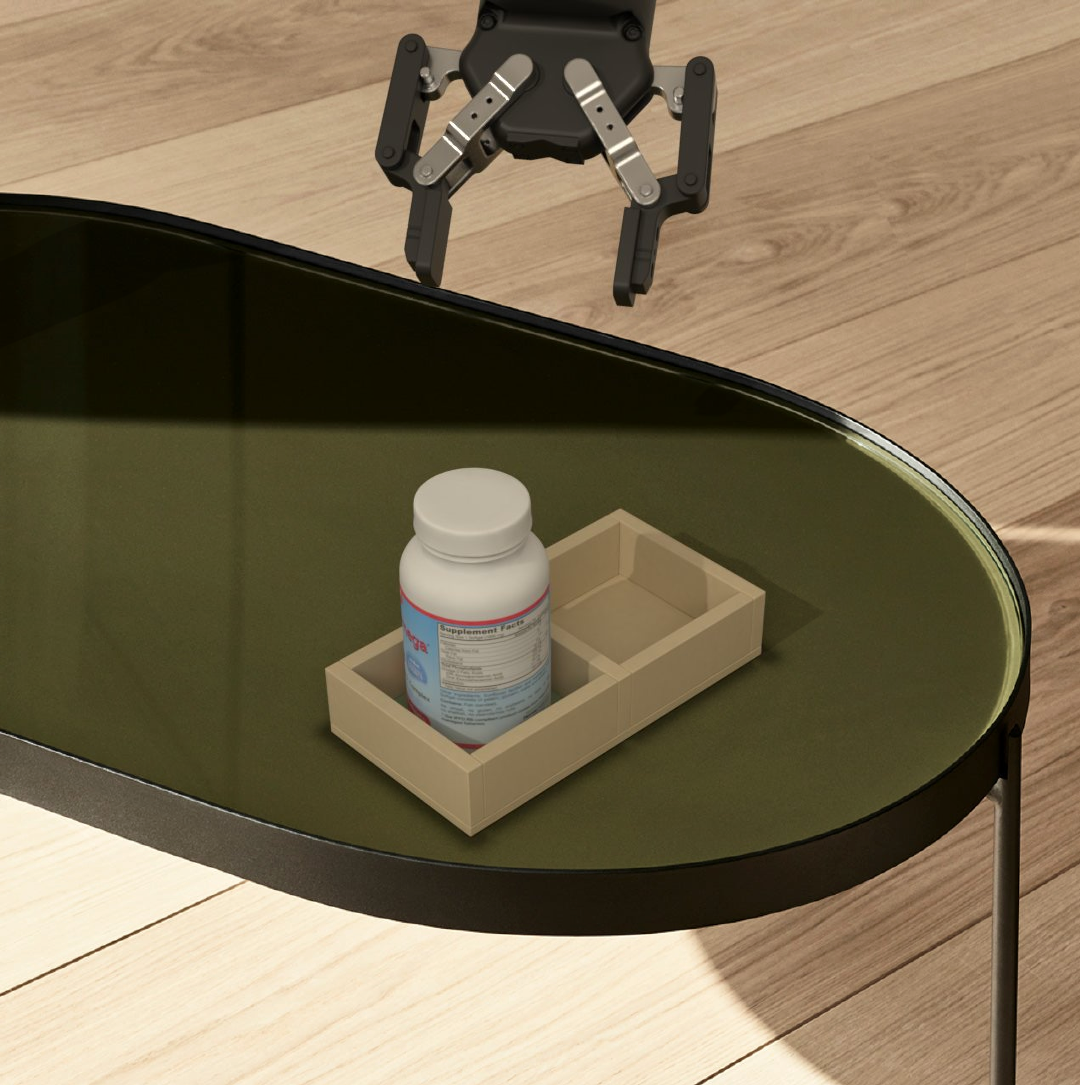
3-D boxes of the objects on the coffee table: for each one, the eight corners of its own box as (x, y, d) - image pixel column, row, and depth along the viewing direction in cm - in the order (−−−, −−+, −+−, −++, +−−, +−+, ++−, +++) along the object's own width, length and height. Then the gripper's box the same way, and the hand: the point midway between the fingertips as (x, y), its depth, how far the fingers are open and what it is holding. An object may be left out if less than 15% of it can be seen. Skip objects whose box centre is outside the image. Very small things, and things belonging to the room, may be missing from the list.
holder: (470, 837, 79) (467, 772, 77) (330, 731, 84) (324, 668, 82) (761, 654, 88) (766, 591, 86) (619, 568, 93) (620, 507, 91)
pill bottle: (412, 675, 86) (397, 456, 79) (551, 674, 86) (549, 455, 79) (404, 766, 81) (388, 543, 74) (551, 765, 81) (549, 541, 74)
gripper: (400, -128, 82) (341, 247, 81) (738, -107, 80) (683, 279, 78) (437, -42, 89) (383, 303, 88) (747, -21, 87) (697, 334, 86)
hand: (524, 291), depth 83 cm, fingers open, 8 cm apart
